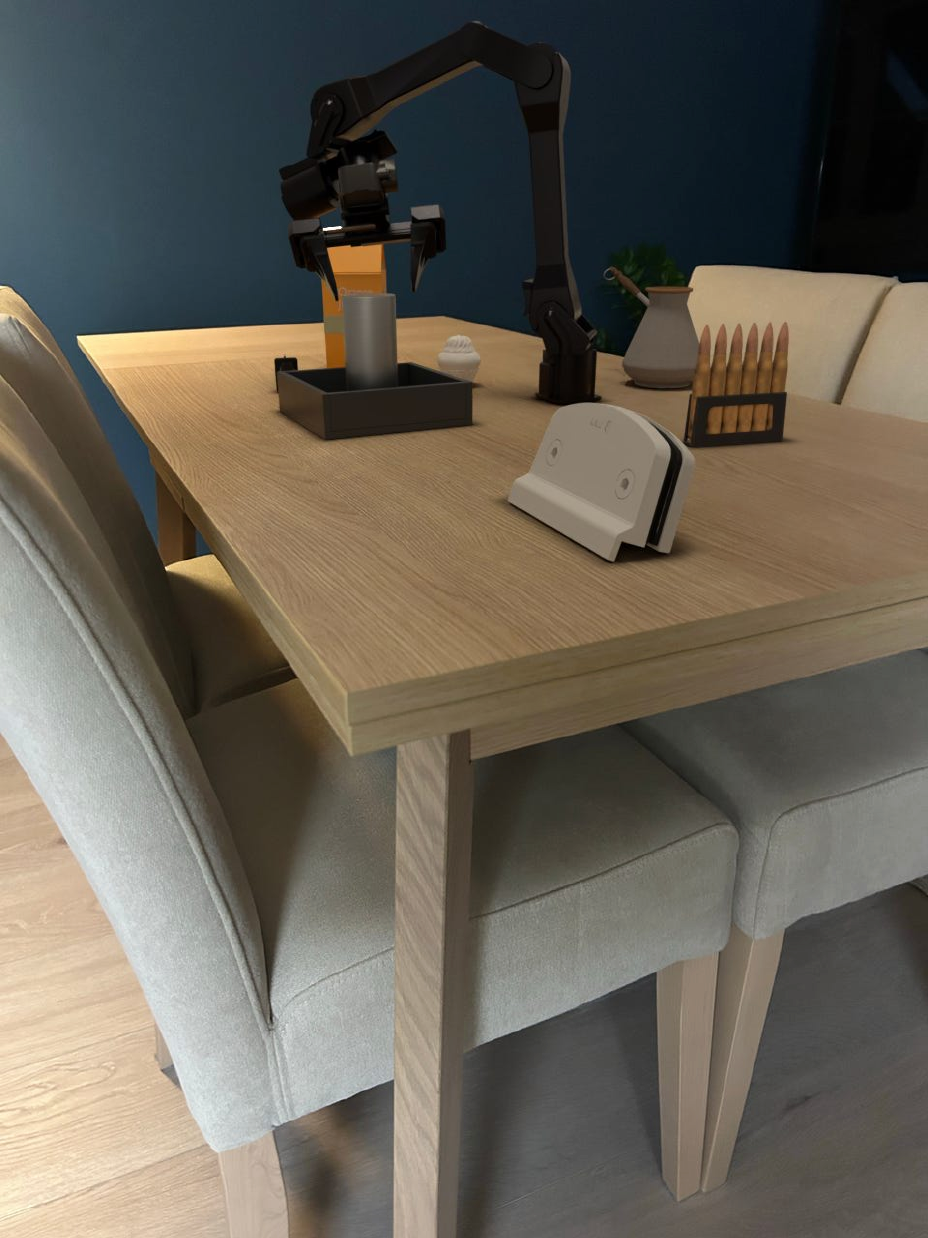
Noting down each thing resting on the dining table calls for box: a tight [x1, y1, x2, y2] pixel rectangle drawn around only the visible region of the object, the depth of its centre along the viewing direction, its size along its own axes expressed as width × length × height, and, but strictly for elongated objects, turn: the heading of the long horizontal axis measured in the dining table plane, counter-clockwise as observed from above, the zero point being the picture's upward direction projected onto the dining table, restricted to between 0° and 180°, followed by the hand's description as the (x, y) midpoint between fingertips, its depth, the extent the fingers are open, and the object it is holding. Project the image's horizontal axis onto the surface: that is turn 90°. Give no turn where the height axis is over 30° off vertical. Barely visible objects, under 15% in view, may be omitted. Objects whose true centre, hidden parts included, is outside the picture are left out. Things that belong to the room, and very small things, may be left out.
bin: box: [277, 361, 474, 441], centre depth 110 cm, size 18×18×5 cm
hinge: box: [507, 402, 696, 563], centre depth 71 cm, size 17×5×10 cm, turn 23°
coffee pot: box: [603, 265, 700, 389], centre depth 133 cm, size 21×12×15 cm, turn 24°
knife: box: [273, 354, 299, 392], centre depth 129 cm, size 31×3×4 cm, turn 8°
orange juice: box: [321, 244, 387, 368], centre depth 140 cm, size 8×9×20 cm
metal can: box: [342, 293, 399, 391], centre depth 108 cm, size 6×6×13 cm
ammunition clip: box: [682, 321, 790, 448], centre depth 96 cm, size 11×2×12 cm, turn 105°
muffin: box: [436, 333, 482, 383], centre depth 130 cm, size 6×6×7 cm
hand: (375, 294), depth 111 cm, fingers open, 9 cm apart
